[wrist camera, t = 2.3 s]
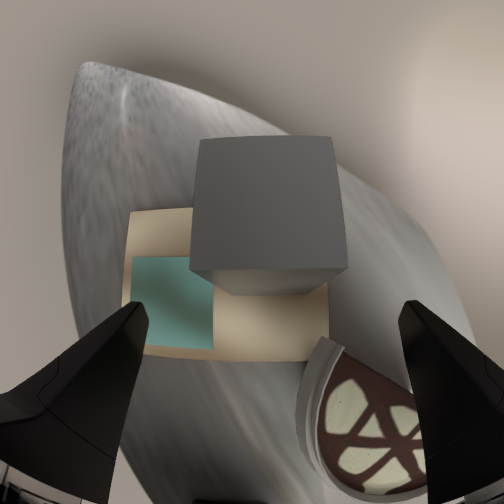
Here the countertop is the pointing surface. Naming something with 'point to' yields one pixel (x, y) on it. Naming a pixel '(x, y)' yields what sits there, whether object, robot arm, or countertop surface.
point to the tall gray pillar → (267, 215)
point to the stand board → (210, 302)
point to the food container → (359, 429)
